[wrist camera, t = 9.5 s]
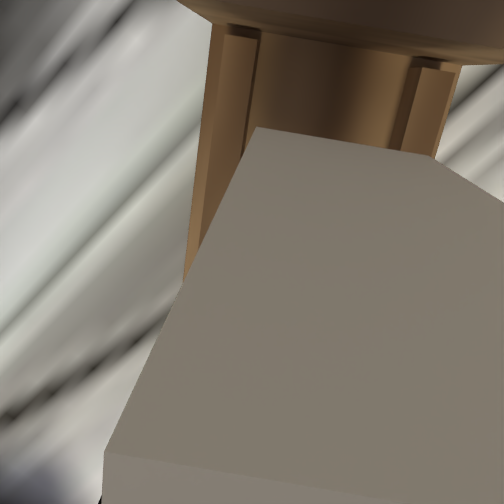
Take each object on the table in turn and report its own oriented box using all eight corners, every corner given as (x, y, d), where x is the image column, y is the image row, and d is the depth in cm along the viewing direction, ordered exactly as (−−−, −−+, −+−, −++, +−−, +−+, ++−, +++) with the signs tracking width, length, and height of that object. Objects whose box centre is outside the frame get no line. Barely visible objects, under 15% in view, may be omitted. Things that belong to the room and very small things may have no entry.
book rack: (458, 35, 20) (598, 5, 11) (348, 417, 27) (378, 588, 18) (221, -5, 20) (167, -67, 11) (174, 387, 27) (120, 541, 18)
